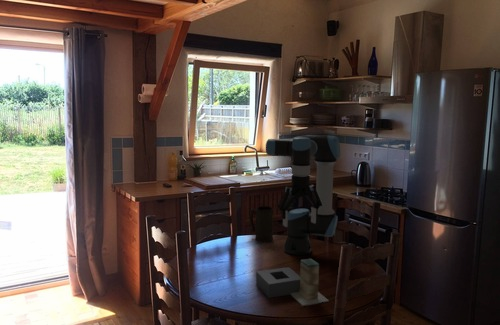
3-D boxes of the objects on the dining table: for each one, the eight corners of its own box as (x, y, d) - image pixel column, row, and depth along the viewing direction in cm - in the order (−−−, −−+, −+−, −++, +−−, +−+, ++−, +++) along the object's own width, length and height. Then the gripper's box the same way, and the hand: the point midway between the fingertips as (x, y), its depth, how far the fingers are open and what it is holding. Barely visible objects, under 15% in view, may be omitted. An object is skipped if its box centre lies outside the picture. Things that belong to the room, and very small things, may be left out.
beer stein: (276, 238, 248) (274, 205, 246) (271, 243, 238) (269, 209, 236) (252, 236, 254) (250, 205, 251) (246, 242, 244) (244, 209, 241)
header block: (288, 279, 189) (288, 267, 188) (302, 292, 176) (303, 279, 175) (256, 284, 183) (256, 271, 183) (268, 297, 170) (269, 284, 170)
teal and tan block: (310, 292, 175) (311, 258, 173) (317, 298, 169) (319, 263, 167) (299, 293, 174) (300, 259, 172) (307, 300, 168) (308, 265, 166)
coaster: (313, 289, 179) (313, 288, 179) (328, 301, 168) (328, 300, 168) (289, 293, 175) (289, 292, 175) (302, 306, 164) (302, 304, 164)
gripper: (321, 171, 178) (320, 218, 181) (269, 175, 168) (268, 225, 171) (331, 174, 171) (329, 223, 174) (277, 178, 161) (276, 230, 164)
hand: (299, 224), depth 173 cm, fingers open, 13 cm apart
